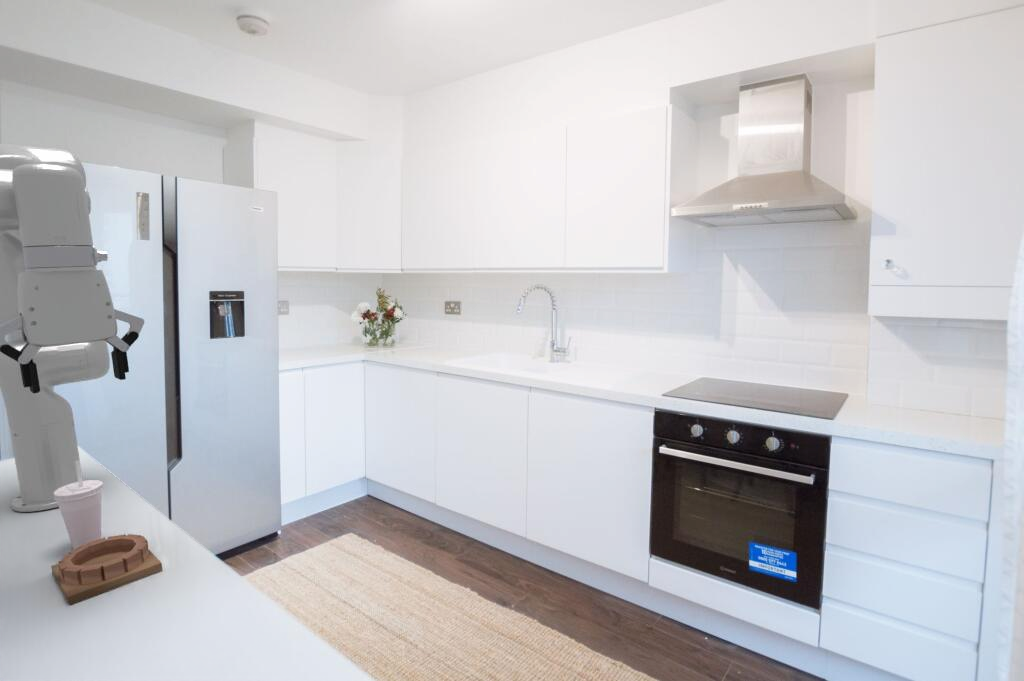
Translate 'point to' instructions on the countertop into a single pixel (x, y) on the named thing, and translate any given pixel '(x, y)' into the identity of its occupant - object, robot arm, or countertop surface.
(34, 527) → the countertop surface
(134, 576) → the ring board
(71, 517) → the smoothie
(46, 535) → the countertop surface
